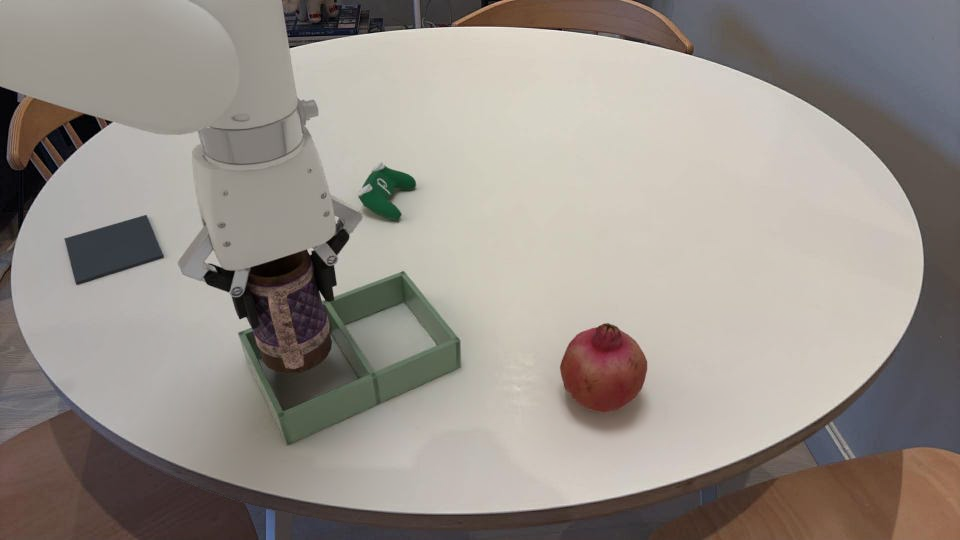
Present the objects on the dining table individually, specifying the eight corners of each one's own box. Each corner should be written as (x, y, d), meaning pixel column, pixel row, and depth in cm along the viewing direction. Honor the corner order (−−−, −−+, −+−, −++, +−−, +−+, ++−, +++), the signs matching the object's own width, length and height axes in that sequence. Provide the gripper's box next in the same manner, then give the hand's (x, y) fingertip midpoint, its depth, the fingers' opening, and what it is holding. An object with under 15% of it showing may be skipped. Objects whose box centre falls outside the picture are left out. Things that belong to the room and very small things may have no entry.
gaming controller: (403, 194, 100) (371, 166, 98) (420, 180, 98) (388, 151, 96) (384, 232, 93) (349, 203, 91) (401, 218, 91) (367, 188, 89)
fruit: (576, 440, 66) (587, 368, 59) (545, 377, 72) (552, 306, 65) (654, 420, 67) (672, 348, 61) (617, 360, 73) (631, 289, 67)
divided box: (286, 445, 65) (278, 418, 63) (246, 359, 73) (237, 332, 71) (461, 367, 73) (460, 340, 70) (406, 296, 81) (403, 270, 78)
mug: (261, 331, 72) (234, 237, 64) (331, 320, 73) (313, 226, 65) (259, 407, 64) (228, 310, 56) (337, 394, 65) (318, 297, 57)
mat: (76, 284, 83) (75, 282, 82) (65, 240, 89) (64, 238, 89) (163, 257, 87) (163, 254, 86) (147, 217, 93) (146, 214, 93)
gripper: (339, 86, 59) (359, 255, 70) (120, 135, 52) (182, 314, 63) (376, 122, 54) (392, 297, 65) (140, 182, 47) (203, 367, 58)
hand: (288, 304), depth 64 cm, fingers closed on mug, 6 cm apart
